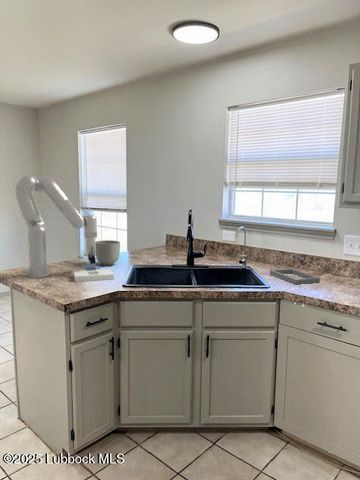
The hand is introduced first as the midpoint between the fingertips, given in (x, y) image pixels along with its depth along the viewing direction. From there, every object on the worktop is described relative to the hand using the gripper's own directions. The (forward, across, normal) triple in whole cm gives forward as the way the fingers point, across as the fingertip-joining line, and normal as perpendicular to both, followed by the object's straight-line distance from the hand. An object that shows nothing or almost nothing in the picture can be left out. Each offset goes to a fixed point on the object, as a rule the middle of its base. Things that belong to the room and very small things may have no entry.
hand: (91, 261), depth 229 cm
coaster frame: (+10, +49, +116) cm, 126 cm away
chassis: (+7, +12, -1) cm, 14 cm away
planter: (+8, -22, +13) cm, 27 cm away
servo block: (+7, 0, -1) cm, 7 cm away
